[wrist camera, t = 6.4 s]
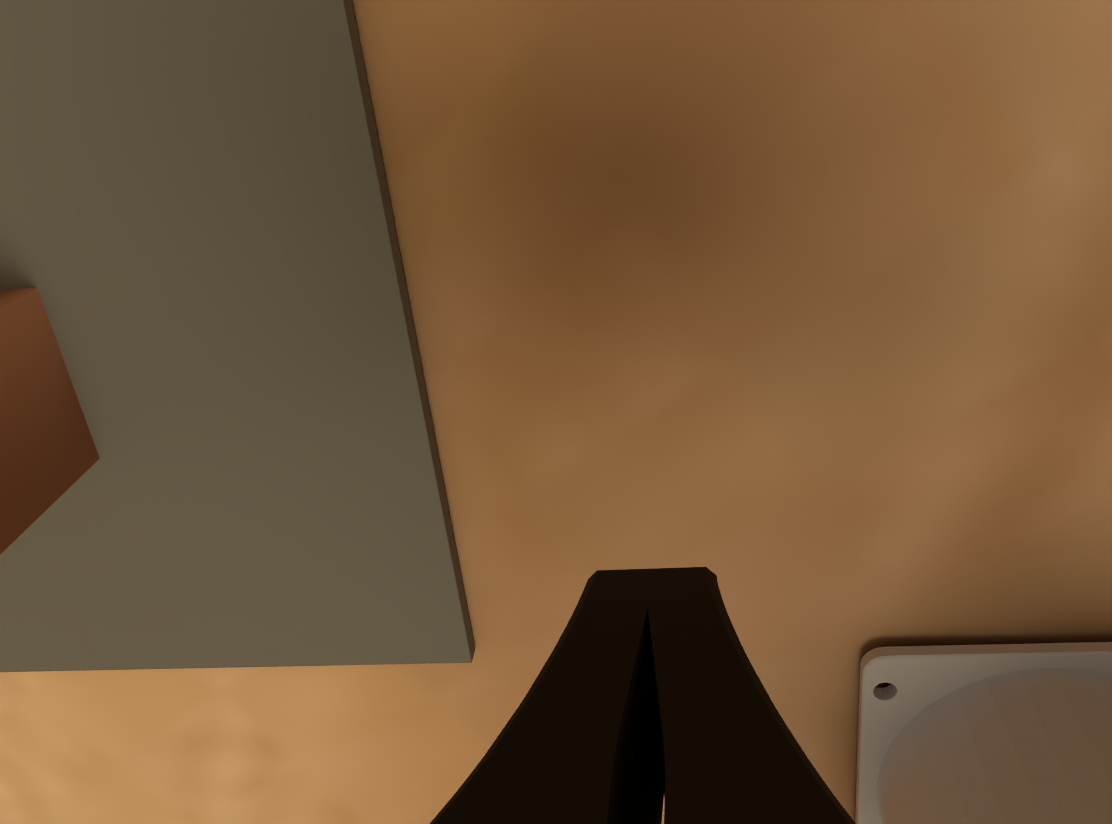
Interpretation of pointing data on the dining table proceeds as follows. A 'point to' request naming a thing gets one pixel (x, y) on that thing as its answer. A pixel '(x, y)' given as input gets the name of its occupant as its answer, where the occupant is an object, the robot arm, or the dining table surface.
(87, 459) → the maple block
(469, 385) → the dining table surface
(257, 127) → the rubber mat
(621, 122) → the dining table surface
